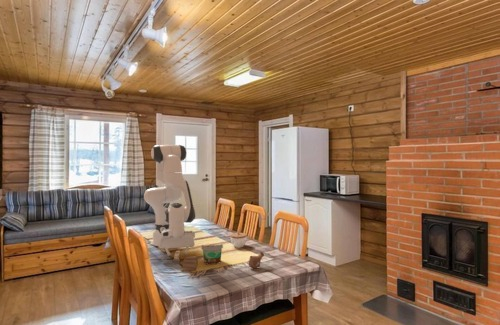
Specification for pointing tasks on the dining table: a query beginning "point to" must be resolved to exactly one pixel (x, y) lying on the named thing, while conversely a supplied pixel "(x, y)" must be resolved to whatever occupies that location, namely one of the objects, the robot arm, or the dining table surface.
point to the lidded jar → (238, 239)
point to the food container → (212, 253)
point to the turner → (176, 258)
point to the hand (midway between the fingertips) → (177, 255)
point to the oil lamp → (255, 260)
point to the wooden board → (189, 264)
